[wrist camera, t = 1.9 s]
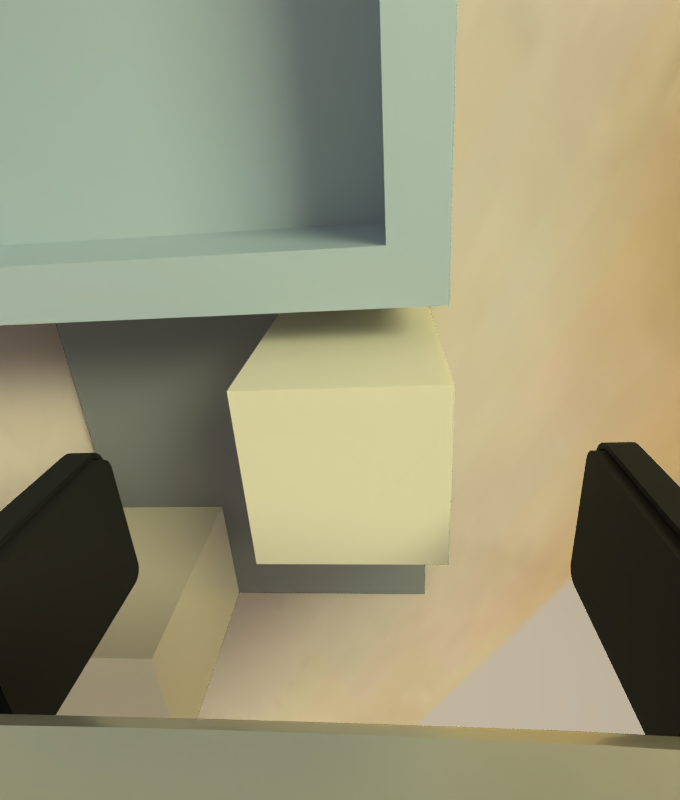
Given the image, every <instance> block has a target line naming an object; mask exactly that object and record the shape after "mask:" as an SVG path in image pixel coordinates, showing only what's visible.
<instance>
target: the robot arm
mask: <svg viewBox="0 0 680 800" xmlns="http://www.w3.org/2000/svg"><path fill="white" fill-rule="evenodd" d="M138 574H139V564H138V560H137V556H136V553H135V549H134V546H133V542H132V538H131V535H130V531H129V528H128V524H127V520H126V517H125V513H124V510H123V506H122V502H121V499H120V495H119V492H118V488H117V484H116V481H115V477H114V473H113V470H112V467H111V464H110V463H109V461H107V460H103V458H102V457H101V455H100V454H98V453H71V454H66V455H65V456H63V457H62V458H61V459H60V460H59V461H58V462H56V463H55V464H54V465H53V466H52V467H51V468H50V469H48V470H47V471H46V472H45V473H44V474H43V475H42V476H40V477H39V478H38V479H37V480H36V481H35V482H34V483H32V484H31V485H30V486H29V487H28V488H27V489H26V490H24V491H23V492H22V493H21V494H20V495H19V496H18V497H16V498H15V499H14V500H13V501H12V502H11V503H10V504H8V505H7V506H6V507H5V508H4V509H3V510H2V511H0V800H680V487H679V486H678V485H677V484H676V483H675V482H674V481H673V480H672V479H671V478H670V477H669V476H668V475H667V474H666V473H665V471H664V470H663V469H662V468H661V467H660V466H659V465H658V464H657V463H656V462H655V461H654V460H653V459H652V458H651V457H650V456H649V455H648V454H647V453H646V452H645V451H644V450H643V449H642V448H641V447H640V446H639V445H638V444H637V443H635V442H618V443H601V444H599V446H598V448H597V450H596V451H590V452H589V453H588V455H587V459H586V465H585V472H584V478H583V485H582V492H581V499H580V506H579V512H578V519H577V526H576V533H575V539H574V546H573V553H572V560H571V576H572V580H573V583H574V586H575V588H576V590H577V592H578V594H579V596H580V599H581V600H582V602H583V605H584V607H585V609H586V611H587V613H588V615H589V617H590V619H591V622H592V624H593V626H594V628H595V630H596V632H597V634H598V636H599V638H600V640H601V643H602V645H603V647H604V649H605V651H606V653H607V655H608V657H609V659H610V661H611V664H612V665H613V668H614V670H615V672H616V674H617V676H618V678H619V680H620V682H621V684H622V687H623V688H624V691H625V693H626V695H627V697H628V699H629V701H630V703H631V705H632V708H633V710H634V712H635V714H636V716H637V718H638V720H639V722H640V724H641V726H642V728H643V731H644V732H645V735H637V734H617V733H598V732H580V731H558V730H529V729H528V730H527V729H501V728H473V727H444V726H417V725H389V724H358V723H325V722H293V721H259V720H224V719H189V718H152V717H110V716H67V715H56V714H57V712H58V711H59V709H60V707H61V706H62V704H63V702H64V701H65V699H66V697H67V696H68V694H69V692H70V691H71V689H72V687H73V686H74V684H75V683H76V681H77V679H78V678H79V676H80V674H81V673H82V671H83V669H84V668H85V666H86V664H87V663H88V661H89V659H90V658H91V656H92V654H93V653H94V651H95V649H96V648H97V646H98V645H99V643H100V641H101V640H102V638H103V636H104V635H105V633H106V631H107V630H108V628H109V626H110V625H111V623H112V621H113V620H114V618H115V616H116V615H117V613H118V611H119V610H120V608H121V607H122V605H123V603H124V602H125V600H126V598H127V597H128V595H129V593H130V592H131V590H132V588H133V587H134V585H135V583H136V581H137V578H138Z"/></svg>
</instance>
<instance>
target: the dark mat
mask: <svg viewBox="0 0 680 800" xmlns="http://www.w3.org/2000/svg"><path fill="white" fill-rule="evenodd" d="M278 315H279V313H271V314H248V315H226V316H203V317H180V318H157V319H135V320H112V321H89V322H67V323H56V326H57V329H58V332H59V336H60V339H61V342H62V345H63V349H64V352H65V355H66V358H67V361H68V365H69V368H70V371H71V374H72V378H73V381H74V384H75V387H76V391H77V394H78V397H79V400H80V403H81V407H82V410H83V413H84V416H85V420H86V423H87V426H88V429H89V433H90V436H91V439H92V442H93V445H94V449H95V452H96V453H98V454H100V455H101V457H102V458H103V460H107V461H109V463H110V464H111V467H112V470H113V473H114V477H115V481H116V484H117V488H118V492H119V495H120V499H121V502H122V506H123V508H126V507H222V509H223V514H224V519H225V524H226V529H227V534H228V539H229V544H230V549H231V554H232V559H233V564H234V569H235V574H236V579H237V584H238V589H239V592H249V593H362V594H425V565H391V564H257V563H256V558H255V552H254V546H253V540H252V534H251V529H250V523H249V517H248V511H247V506H246V500H245V494H244V488H243V483H242V477H241V471H240V465H239V460H238V454H237V448H236V442H235V437H234V431H233V425H232V419H231V413H230V408H229V402H228V396H227V390H228V389H229V387H230V386H231V384H232V383H233V381H234V380H235V378H236V377H237V375H238V374H239V372H240V371H241V369H242V368H243V366H244V365H245V363H246V362H247V361H248V359H249V358H250V356H251V355H252V353H253V352H254V350H255V349H256V347H257V346H258V344H259V343H260V341H261V340H262V338H263V337H264V335H265V334H266V332H267V331H268V329H269V328H270V326H271V325H272V323H273V322H274V320H275V319H276V318H277V316H278Z"/></svg>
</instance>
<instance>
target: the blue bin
mask: <svg viewBox="0 0 680 800" xmlns="http://www.w3.org/2000/svg"><path fill="white" fill-rule="evenodd" d="M456 33H457V0H0V325H21V324H44V323H67V322H89V321H112V320H135V319H157V318H180V317H203V316H226V315H248V314H271V313H294V312H316V311H339V310H362V309H384V308H407V307H430V306H449V299H450V261H451V223H452V185H453V147H454V109H455V71H456Z"/></svg>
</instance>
